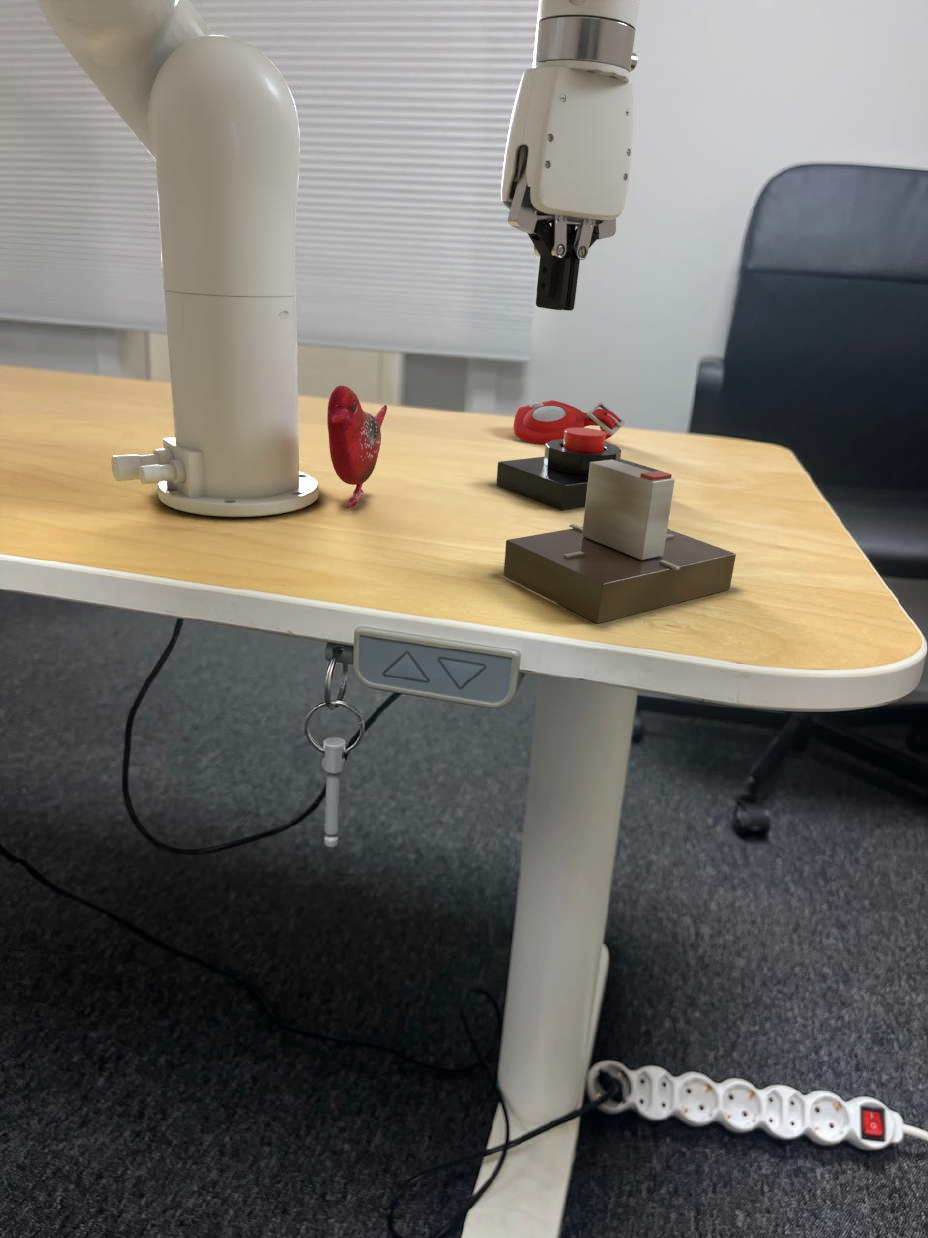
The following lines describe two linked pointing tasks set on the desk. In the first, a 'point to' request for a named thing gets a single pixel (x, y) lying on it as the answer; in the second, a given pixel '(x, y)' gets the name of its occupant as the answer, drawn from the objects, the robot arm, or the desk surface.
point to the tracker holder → (561, 421)
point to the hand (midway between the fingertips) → (554, 308)
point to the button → (584, 439)
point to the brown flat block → (615, 572)
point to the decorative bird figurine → (353, 439)
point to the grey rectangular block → (628, 508)
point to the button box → (556, 474)
